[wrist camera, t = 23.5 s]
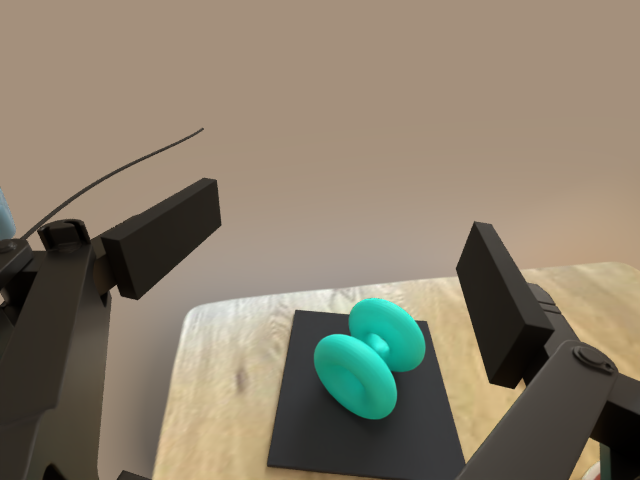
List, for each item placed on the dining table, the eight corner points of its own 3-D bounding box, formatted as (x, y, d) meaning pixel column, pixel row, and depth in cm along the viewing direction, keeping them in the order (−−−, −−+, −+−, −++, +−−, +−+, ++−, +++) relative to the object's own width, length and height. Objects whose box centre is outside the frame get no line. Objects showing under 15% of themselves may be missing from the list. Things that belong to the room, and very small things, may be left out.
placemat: (295, 312, 46) (295, 309, 46) (425, 323, 45) (426, 321, 45) (267, 466, 30) (266, 464, 29) (469, 488, 29) (472, 486, 29)
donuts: (418, 373, 38) (439, 322, 32) (378, 441, 32) (397, 392, 26) (353, 331, 43) (361, 280, 37) (307, 382, 37) (309, 329, 31)
